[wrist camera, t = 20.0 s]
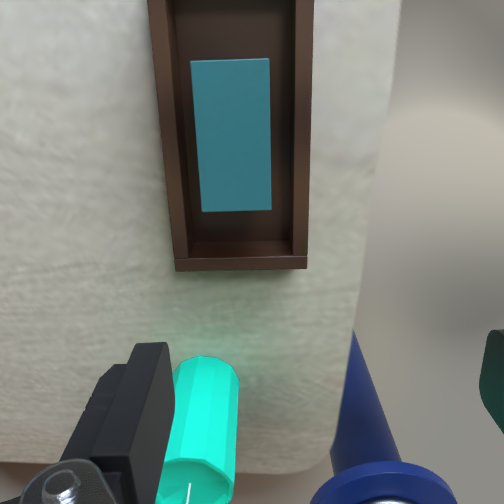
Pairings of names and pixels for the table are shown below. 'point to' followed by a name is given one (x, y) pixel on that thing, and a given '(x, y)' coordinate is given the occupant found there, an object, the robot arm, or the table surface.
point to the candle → (201, 435)
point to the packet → (233, 133)
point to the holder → (281, 128)
